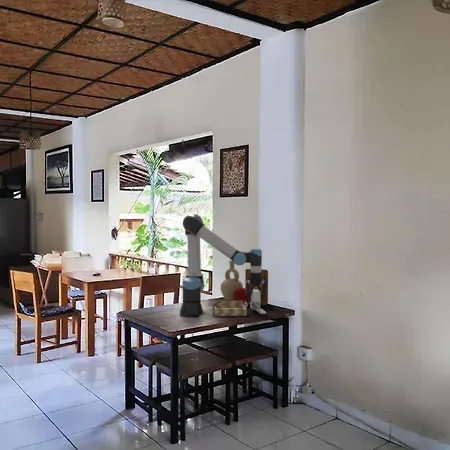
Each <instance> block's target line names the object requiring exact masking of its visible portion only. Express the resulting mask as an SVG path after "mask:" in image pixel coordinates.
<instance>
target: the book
mask: <svg viewBox="0 0 450 450" xmlns="http://www.w3.org/2000/svg"><path fill="white" fill-rule="evenodd" d="M267 270H268V269H267ZM267 270H265V269H262V271H261V279H262V281H265V282H266V283H265V296H263V297H262V302H261V304H262V305H261V306H267V305H268V303H269V270H268V271H267ZM250 273H251V271H250V268H245V276H244V277H245V279H244V280H245V281H244V283H245V287H244V288H245V289H246V281H249V280H250ZM260 288H261V293H262V282H261V284H260ZM250 289H251V283H250V282H249V292H250ZM253 290H258V287H257V286H254V288H253ZM247 303H248V305H249V304H250V302H249V299H248V302H247Z"/></svg>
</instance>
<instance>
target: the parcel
mask: <svg viewBox="0 0 450 450" xmlns="http://www.w3.org/2000/svg"><path fill="white" fill-rule="evenodd" d="M251 297H252V307H250V309H251V310H252V311H257V310H260V309H261V307H260V291H259V290H253V291H252V295H251Z"/></svg>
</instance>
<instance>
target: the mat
mask: <svg viewBox="0 0 450 450" xmlns="http://www.w3.org/2000/svg"><path fill="white" fill-rule="evenodd" d="M256 312H258V313H259V314H261V315H267V312H266V311H265V310H264V309H263V308H260V310H256Z"/></svg>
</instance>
